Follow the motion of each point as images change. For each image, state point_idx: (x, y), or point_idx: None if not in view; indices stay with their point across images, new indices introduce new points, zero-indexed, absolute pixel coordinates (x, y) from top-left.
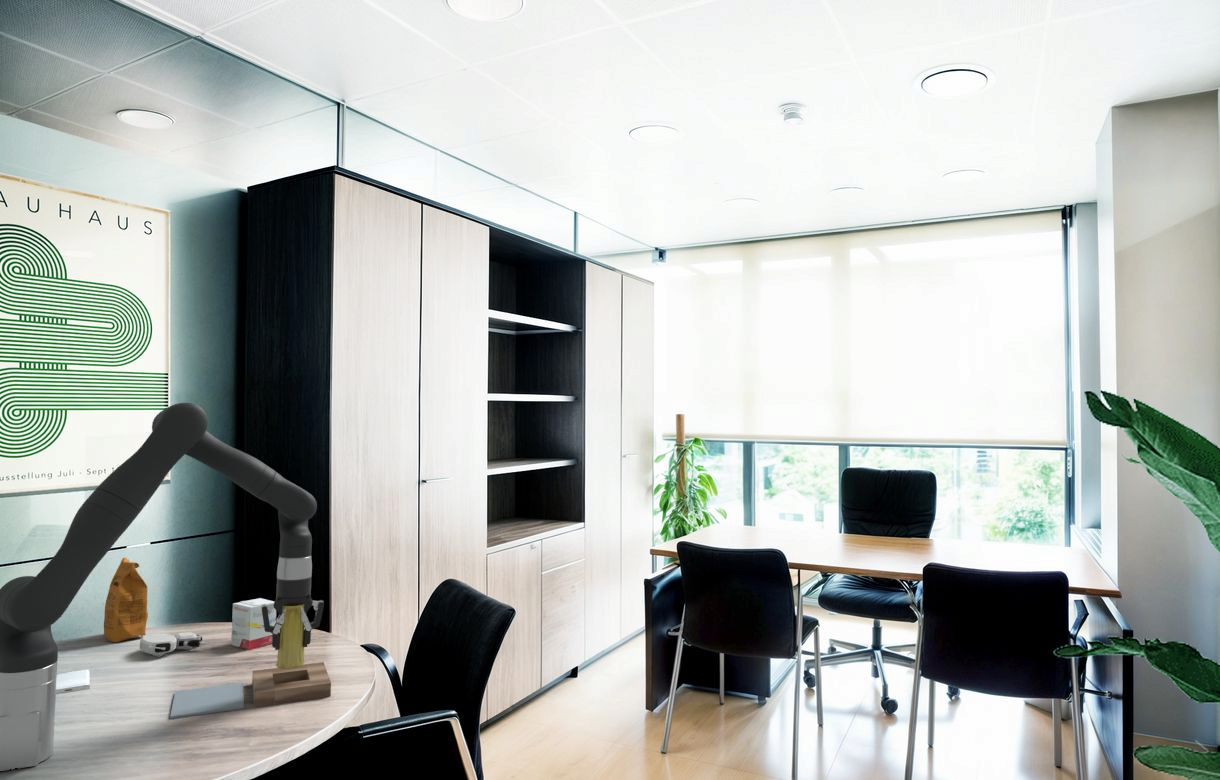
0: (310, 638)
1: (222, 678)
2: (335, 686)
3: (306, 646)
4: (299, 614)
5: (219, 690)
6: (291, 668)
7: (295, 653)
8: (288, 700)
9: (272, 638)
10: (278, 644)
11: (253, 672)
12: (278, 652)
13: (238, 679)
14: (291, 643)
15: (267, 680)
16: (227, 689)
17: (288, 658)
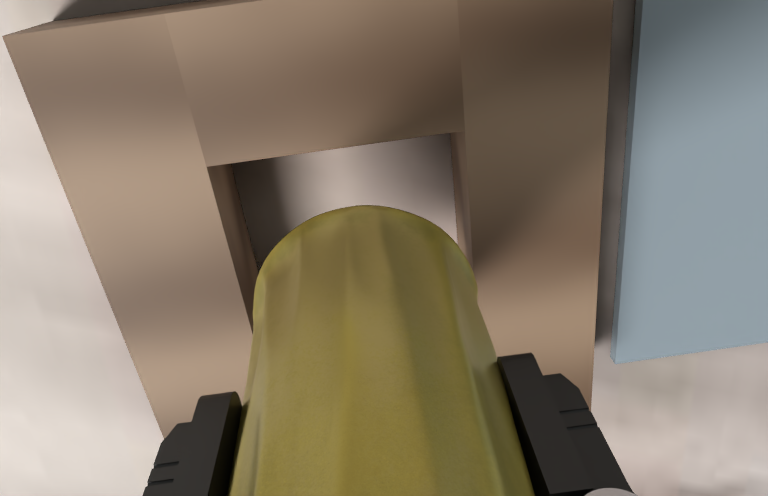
0: (150, 475)
1: (692, 454)
2: (67, 209)
3: (209, 395)
4: None
5: (743, 277)
6: None
7: (316, 291)
8: None
9: (609, 460)
10: (515, 389)
11: (587, 386)
12: (488, 343)
13: (624, 429)
14: (365, 353)
15: (510, 224)
16: (702, 282)
17: (382, 251)
